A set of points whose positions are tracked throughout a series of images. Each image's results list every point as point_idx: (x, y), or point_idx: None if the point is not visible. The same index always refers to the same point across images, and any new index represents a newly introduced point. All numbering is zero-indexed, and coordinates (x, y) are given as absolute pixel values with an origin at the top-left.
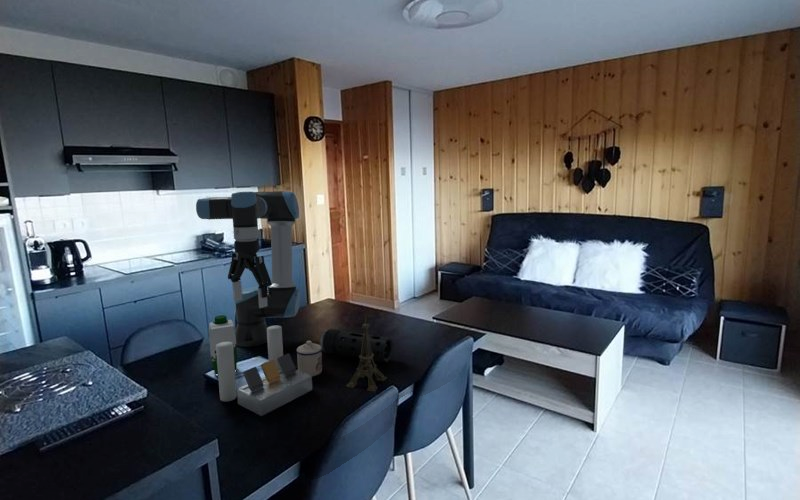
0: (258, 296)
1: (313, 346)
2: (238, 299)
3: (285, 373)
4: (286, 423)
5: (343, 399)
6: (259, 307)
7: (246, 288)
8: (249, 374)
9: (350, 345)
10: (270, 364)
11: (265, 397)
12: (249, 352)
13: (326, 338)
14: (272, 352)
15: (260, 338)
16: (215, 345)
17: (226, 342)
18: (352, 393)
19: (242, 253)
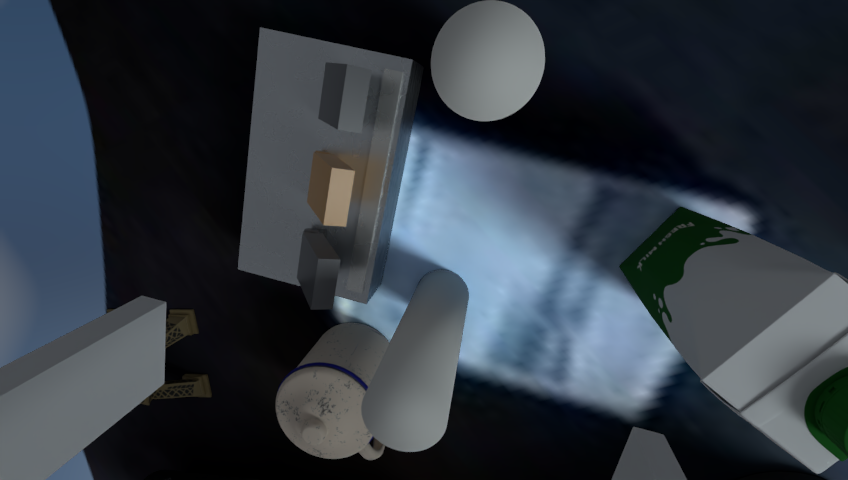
0: (33, 376)
1: (293, 418)
2: (622, 477)
3: (309, 231)
4: (191, 41)
5: (149, 236)
6: (154, 301)
7: None
8: (338, 78)
9: None
10: (322, 198)
11: (260, 55)
12: (701, 433)
13: None
14: (416, 315)
15: None
16: (748, 252)
17: (504, 101)
18: (151, 277)
19: None
